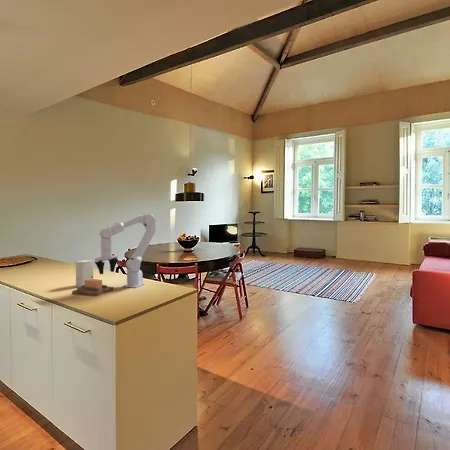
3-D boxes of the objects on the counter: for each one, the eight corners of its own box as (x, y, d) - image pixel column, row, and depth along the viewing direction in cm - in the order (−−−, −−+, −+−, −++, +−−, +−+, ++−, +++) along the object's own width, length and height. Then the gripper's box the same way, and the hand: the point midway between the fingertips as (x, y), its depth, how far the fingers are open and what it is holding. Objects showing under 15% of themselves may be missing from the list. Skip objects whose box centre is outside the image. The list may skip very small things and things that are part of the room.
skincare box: (82, 287, 194) (81, 262, 193) (75, 286, 197) (74, 261, 196) (94, 284, 201) (93, 260, 200) (87, 283, 204) (86, 259, 203)
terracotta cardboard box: (90, 287, 187) (90, 278, 187) (102, 289, 184) (102, 280, 183) (84, 288, 184) (84, 280, 184) (96, 290, 180) (96, 281, 180)
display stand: (90, 287, 193) (89, 282, 193) (113, 289, 188) (113, 284, 188) (72, 293, 180) (72, 288, 179) (96, 296, 175) (96, 290, 175)
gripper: (100, 251, 180) (101, 275, 181) (121, 248, 192) (121, 271, 193) (91, 250, 183) (92, 274, 184) (112, 247, 196) (113, 270, 197)
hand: (107, 272), depth 189 cm, fingers open, 7 cm apart
